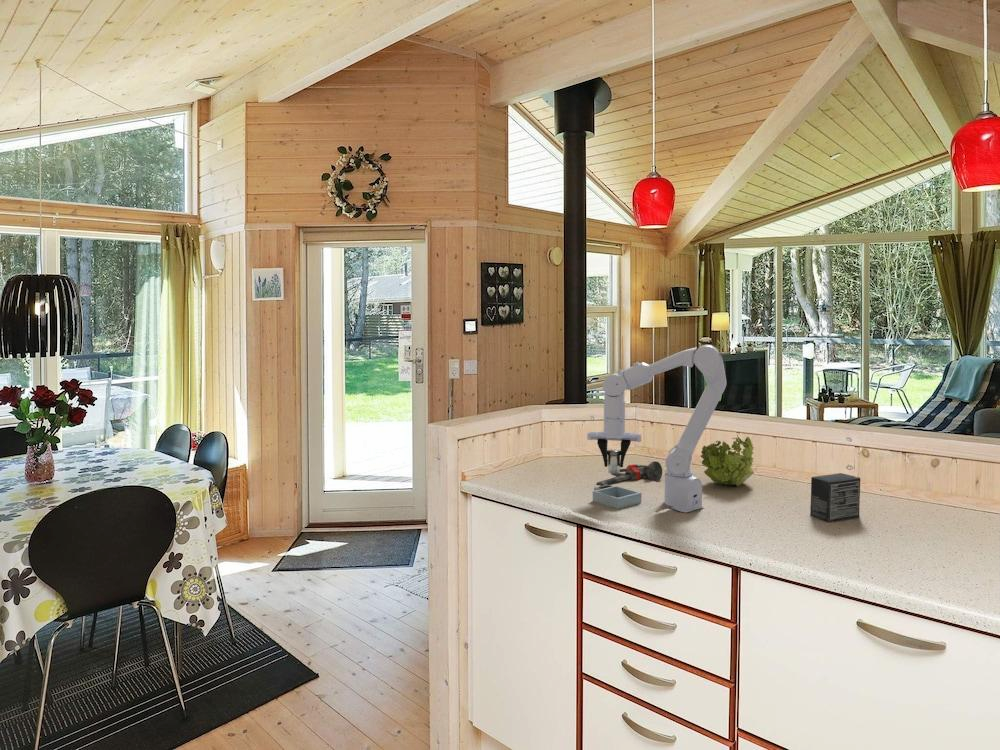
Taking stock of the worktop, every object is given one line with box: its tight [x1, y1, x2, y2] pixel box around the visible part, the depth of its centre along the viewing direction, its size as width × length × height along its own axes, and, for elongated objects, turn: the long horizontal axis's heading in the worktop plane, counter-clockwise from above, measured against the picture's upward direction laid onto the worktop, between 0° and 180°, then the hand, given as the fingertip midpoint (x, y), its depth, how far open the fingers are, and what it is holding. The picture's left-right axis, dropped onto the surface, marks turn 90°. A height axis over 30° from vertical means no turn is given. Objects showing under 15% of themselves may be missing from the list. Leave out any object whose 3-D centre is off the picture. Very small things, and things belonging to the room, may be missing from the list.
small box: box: [809, 472, 861, 523], centre depth 173 cm, size 11×6×10 cm, turn 111°
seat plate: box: [593, 484, 614, 491], centre depth 194 cm, size 6×6×2 cm
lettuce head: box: [700, 435, 755, 488], centre depth 205 cm, size 18×16×16 cm
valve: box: [596, 461, 663, 486], centre depth 211 cm, size 6×26×15 cm
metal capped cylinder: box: [607, 449, 621, 474], centre depth 188 cm, size 4×4×6 cm
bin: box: [592, 485, 642, 510], centre depth 184 cm, size 9×9×4 cm
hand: (613, 466), depth 187 cm, fingers closed on metal capped cylinder, 4 cm apart
